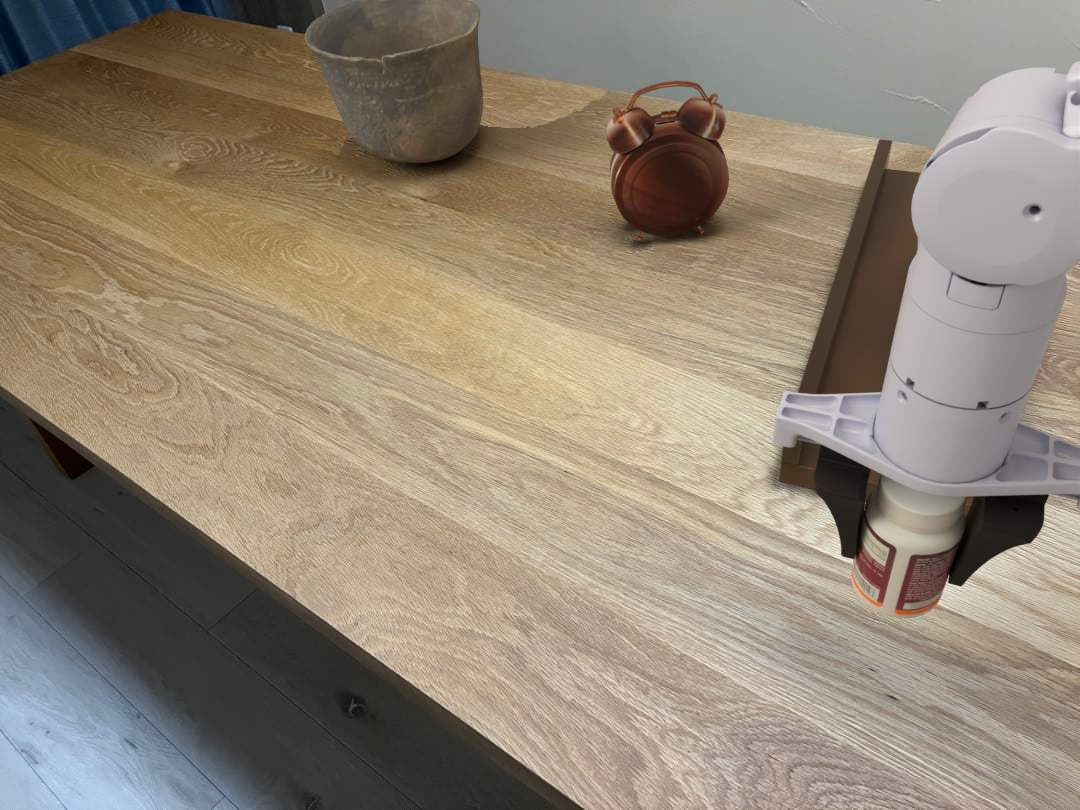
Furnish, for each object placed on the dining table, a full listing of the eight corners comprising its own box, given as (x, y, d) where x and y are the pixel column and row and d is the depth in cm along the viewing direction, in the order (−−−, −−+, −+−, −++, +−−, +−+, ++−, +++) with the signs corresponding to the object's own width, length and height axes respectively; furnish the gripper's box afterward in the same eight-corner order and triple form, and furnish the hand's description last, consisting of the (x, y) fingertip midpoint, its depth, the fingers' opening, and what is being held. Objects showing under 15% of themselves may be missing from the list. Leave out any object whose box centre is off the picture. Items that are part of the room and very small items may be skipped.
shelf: (1025, 204, 86) (1041, 155, 83) (993, 532, 60) (1013, 481, 57) (871, 185, 91) (879, 138, 87) (778, 481, 65) (784, 432, 61)
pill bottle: (946, 562, 51) (983, 459, 45) (934, 632, 48) (972, 532, 42) (857, 538, 52) (882, 436, 46) (840, 605, 49) (864, 505, 43)
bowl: (393, 212, 96) (360, 74, 85) (313, 156, 106) (275, 27, 96) (526, 148, 103) (510, 13, 92) (438, 102, 113) (416, -24, 103)
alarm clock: (717, 211, 90) (725, 63, 80) (728, 238, 87) (737, 87, 76) (607, 224, 90) (600, 77, 80) (613, 252, 87) (607, 102, 76)
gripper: (1152, 336, 39) (1058, 534, 48) (806, 281, 44) (781, 470, 53) (1160, 451, 34) (1054, 645, 44) (773, 376, 39) (752, 565, 49)
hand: (903, 556), depth 48 cm, fingers closed on pill bottle, 5 cm apart
